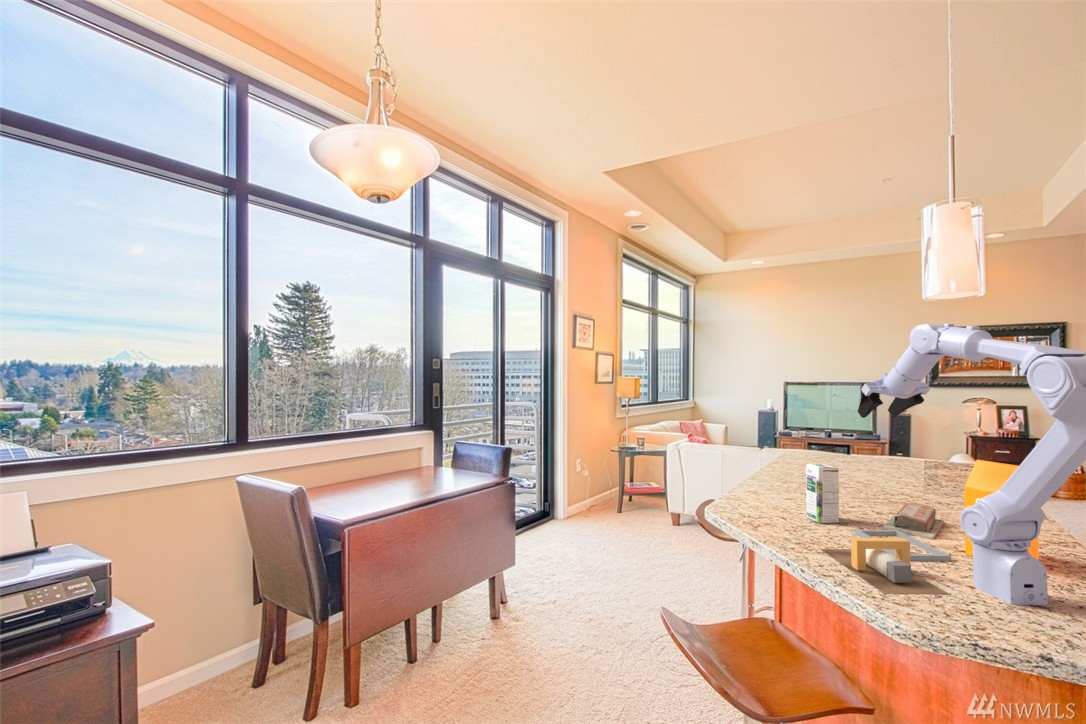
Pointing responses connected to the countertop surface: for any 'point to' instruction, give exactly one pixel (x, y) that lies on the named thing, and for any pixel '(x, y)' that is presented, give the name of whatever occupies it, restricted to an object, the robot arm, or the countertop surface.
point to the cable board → (884, 577)
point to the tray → (935, 555)
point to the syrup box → (822, 493)
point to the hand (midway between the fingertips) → (876, 414)
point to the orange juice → (989, 490)
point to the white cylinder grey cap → (888, 565)
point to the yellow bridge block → (878, 543)
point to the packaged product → (915, 521)
